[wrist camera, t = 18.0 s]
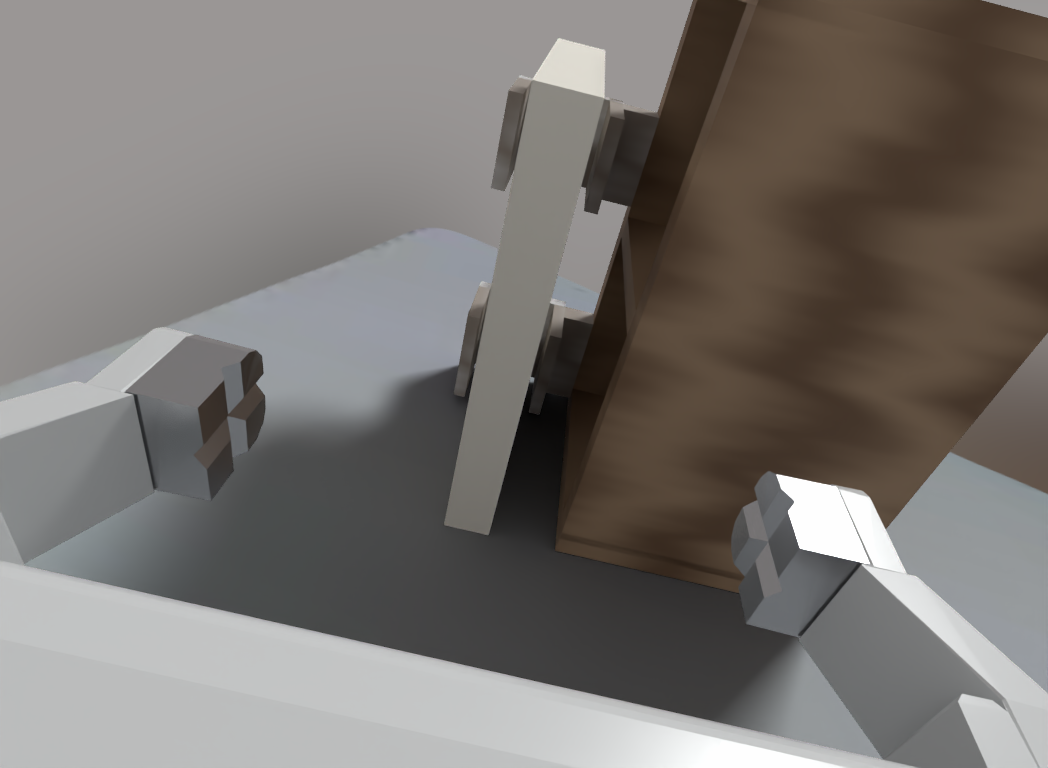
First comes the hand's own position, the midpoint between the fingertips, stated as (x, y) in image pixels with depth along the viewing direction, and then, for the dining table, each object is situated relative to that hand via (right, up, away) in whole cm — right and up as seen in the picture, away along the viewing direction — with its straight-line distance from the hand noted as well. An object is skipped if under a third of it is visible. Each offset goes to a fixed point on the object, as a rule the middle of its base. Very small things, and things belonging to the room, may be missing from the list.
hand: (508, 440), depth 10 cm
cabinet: (+5, -3, +22) cm, 23 cm away
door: (-2, -2, +21) cm, 22 cm away
